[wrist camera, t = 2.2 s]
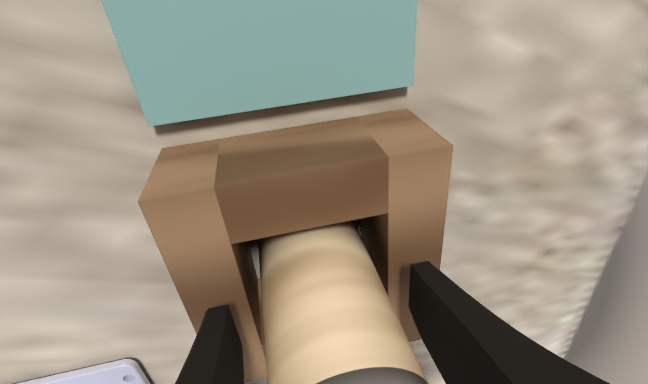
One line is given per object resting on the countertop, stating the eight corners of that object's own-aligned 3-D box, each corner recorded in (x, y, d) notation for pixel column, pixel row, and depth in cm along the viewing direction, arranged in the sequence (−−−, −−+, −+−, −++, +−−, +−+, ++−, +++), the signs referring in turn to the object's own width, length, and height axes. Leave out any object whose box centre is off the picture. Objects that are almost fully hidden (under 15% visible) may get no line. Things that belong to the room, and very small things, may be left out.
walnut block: (401, 278, 18) (432, 336, 15) (224, 317, 17) (220, 387, 14) (407, 108, 14) (453, 145, 11) (161, 148, 12) (137, 201, 10)
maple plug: (351, 251, 17) (443, 479, 9) (266, 268, 16) (288, 524, 9) (346, 177, 15) (460, 394, 7) (248, 195, 14) (257, 448, 7)
